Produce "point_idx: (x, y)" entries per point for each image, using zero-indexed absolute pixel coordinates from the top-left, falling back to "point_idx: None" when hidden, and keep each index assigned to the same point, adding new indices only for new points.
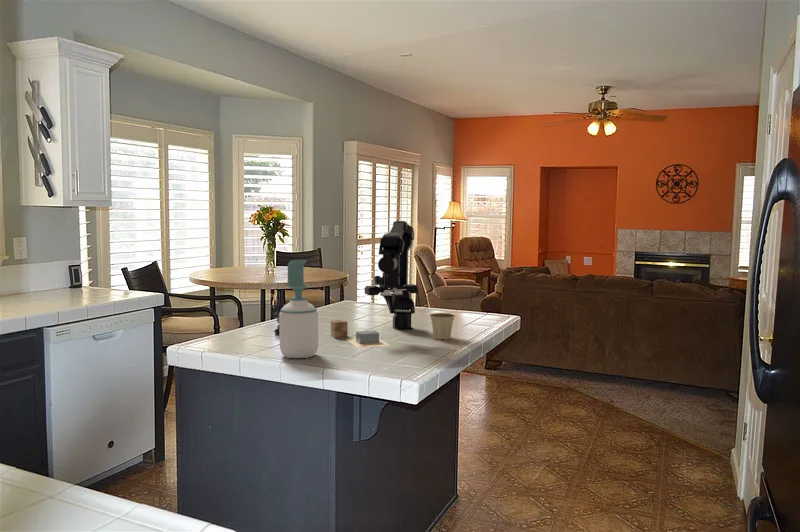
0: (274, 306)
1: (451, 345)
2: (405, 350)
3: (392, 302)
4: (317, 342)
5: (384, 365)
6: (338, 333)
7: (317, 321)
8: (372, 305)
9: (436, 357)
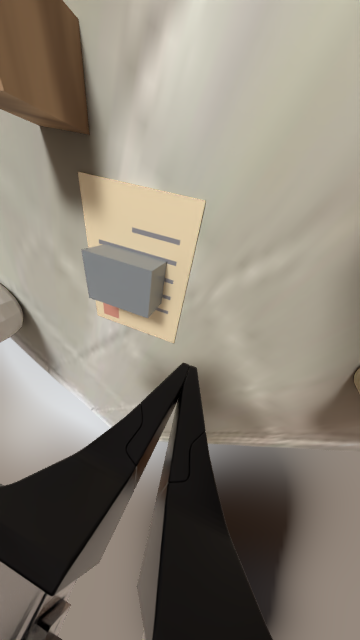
0: None
1: (298, 422)
2: None
3: (169, 451)
4: (3, 336)
5: (113, 402)
6: (32, 118)
7: None
8: None
9: None
